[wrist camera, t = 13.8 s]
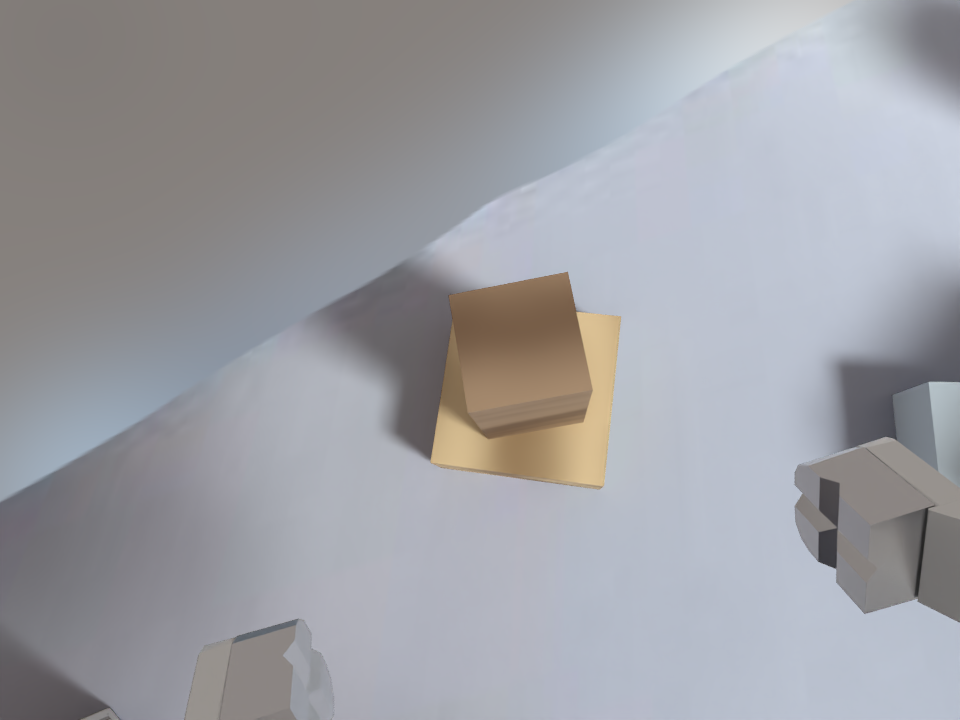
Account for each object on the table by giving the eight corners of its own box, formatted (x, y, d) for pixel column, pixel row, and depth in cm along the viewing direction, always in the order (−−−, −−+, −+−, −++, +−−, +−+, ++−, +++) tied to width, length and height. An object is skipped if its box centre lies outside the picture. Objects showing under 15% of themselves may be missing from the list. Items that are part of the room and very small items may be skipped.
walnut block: (583, 422, 36) (592, 389, 27) (488, 439, 36) (467, 412, 27) (564, 331, 37) (567, 271, 28) (473, 348, 37) (448, 295, 29)
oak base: (614, 335, 41) (621, 316, 37) (599, 489, 39) (603, 486, 35) (465, 319, 42) (455, 299, 38) (442, 468, 40) (430, 462, 36)
